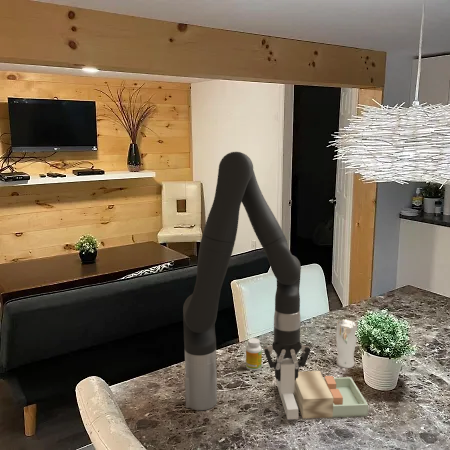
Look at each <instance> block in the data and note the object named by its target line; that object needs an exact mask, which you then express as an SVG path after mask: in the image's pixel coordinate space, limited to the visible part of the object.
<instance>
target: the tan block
mask: <svg viewBox="0 0 450 450" xmlns="http://www.w3.org/2000/svg"><path fill="white" fill-rule="evenodd" d="M324 378H325V377H324V376H323V374H322V372H321V370H313V371H312V370H309V371H307V370H306V371H298V378H296V380H295V385H294V393H293V395H294V398H295V401H296V404H297V407H298V410H299V411H300V412H299V413H300V415H301V417H302V419H303V420H304V419H320V418H321V419H322V418H323V419H326V418H327V419H328V418H330V419H331V418H334V417H333V396H332V394H331V392H330V390H329V388H328V386H327V384H326V382H325V380H324Z"/></svg>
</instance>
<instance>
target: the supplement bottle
mask: <svg viewBox="0 0 450 450" xmlns="http://www.w3.org/2000/svg"><path fill="white" fill-rule="evenodd" d="M260 342H261V340H260V339H259V338H256V337H255V338H254V337H251V338H249V339H248V340H247V345H246V348H245V366H246V369H248V370H250V371H258V370H260V369H261V368H262V367H263V366H262V363H263V362H262V359H263V357H262V356H263V355H262V354H263V353H262V352H263V351H262V349H263V348H262V346H261V345H260V344H261V343H260Z"/></svg>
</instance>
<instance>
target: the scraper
mask: <svg viewBox="0 0 450 450" xmlns="http://www.w3.org/2000/svg"><path fill="white" fill-rule="evenodd" d="M275 383H276V387H277V389H278V394H279V398H280V400H281V402H282V406H283V410H284V412H285V413H284V414H285V416H286V420H287V421H288V420H299V406H298V403H297V401H296V398H295V395H294V385H295V364H294V363H293V361H292V359H289V358H286V359H283V361H282V363H281V366H280V381H278V379H276V378H275Z"/></svg>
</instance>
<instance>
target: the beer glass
mask: <svg viewBox="0 0 450 450" xmlns="http://www.w3.org/2000/svg"><path fill="white" fill-rule="evenodd" d="M356 330H357V331H358V323H357V322H356V321H354V320H352V319H339V320H338V321H337V322H336V334H335V335H336V336H335V337H336V338H335V339H336V347H337V358H336V365H337V366H339V368H344V369H350V368H351V369H352V368H353V367H354V366H355V357H354V355H355V350H356V345H357V341H358V336H357V337H356V336H355V331H356Z"/></svg>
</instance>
